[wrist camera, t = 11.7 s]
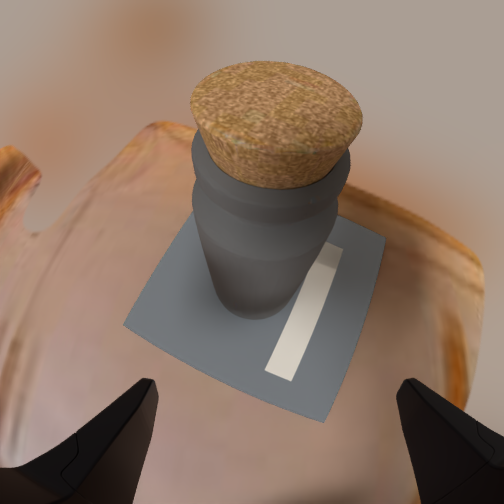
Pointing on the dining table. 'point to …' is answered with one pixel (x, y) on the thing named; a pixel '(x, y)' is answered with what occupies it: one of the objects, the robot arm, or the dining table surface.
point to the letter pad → (265, 321)
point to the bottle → (268, 177)
